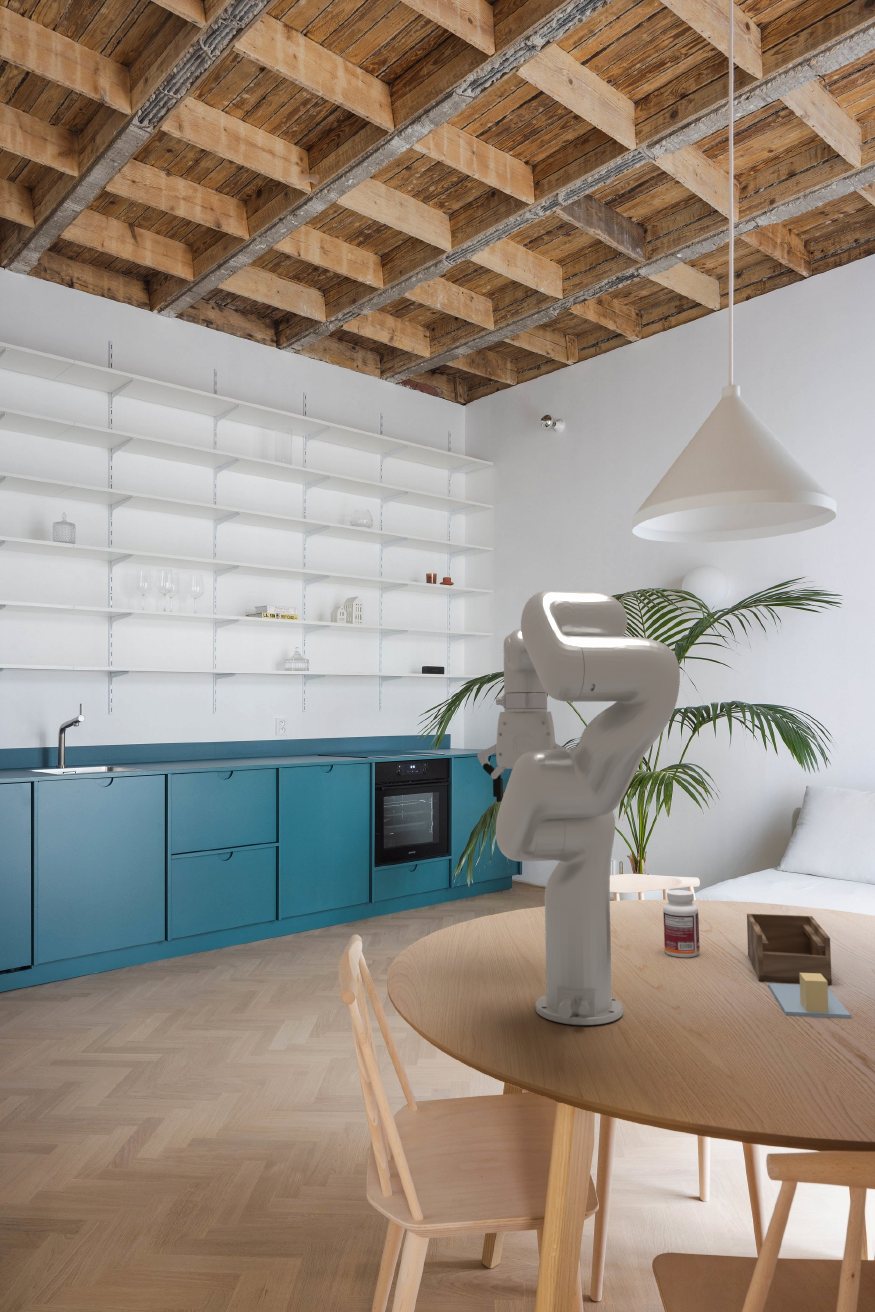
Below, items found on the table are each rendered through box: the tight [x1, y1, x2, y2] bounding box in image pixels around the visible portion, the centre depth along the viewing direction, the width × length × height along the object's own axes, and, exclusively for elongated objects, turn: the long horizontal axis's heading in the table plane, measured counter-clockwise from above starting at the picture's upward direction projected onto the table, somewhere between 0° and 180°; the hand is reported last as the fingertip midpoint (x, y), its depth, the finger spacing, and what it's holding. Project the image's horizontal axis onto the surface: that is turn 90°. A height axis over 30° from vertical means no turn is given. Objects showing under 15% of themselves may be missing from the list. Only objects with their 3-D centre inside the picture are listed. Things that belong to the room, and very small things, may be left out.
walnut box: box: [746, 913, 833, 986], centre depth 153 cm, size 16×11×7 cm
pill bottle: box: [662, 889, 701, 959], centre depth 164 cm, size 6×6×11 cm
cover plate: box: [767, 973, 852, 1020], centre depth 136 cm, size 14×9×5 cm, turn 170°
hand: (527, 801), depth 158 cm, fingers open, 9 cm apart
